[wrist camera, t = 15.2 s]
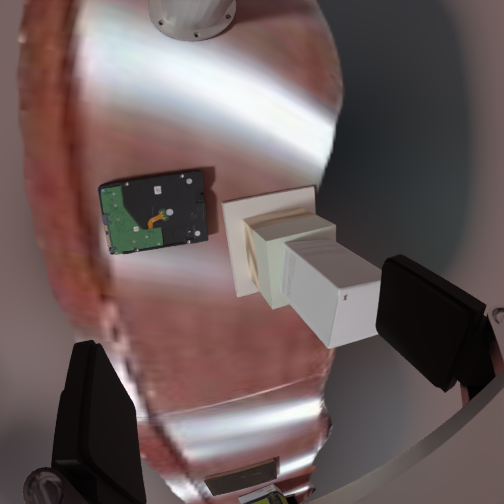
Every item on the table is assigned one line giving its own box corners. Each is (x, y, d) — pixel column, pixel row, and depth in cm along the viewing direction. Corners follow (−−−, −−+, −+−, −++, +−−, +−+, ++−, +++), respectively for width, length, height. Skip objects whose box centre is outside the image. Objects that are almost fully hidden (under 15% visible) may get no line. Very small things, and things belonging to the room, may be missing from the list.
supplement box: (278, 293, 40) (325, 351, 29) (283, 241, 37) (339, 287, 26) (325, 287, 42) (379, 335, 31) (333, 237, 40) (396, 277, 29)
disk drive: (199, 167, 42) (99, 184, 38) (203, 169, 40) (96, 187, 36) (206, 235, 46) (111, 251, 42) (209, 241, 44) (110, 258, 40)
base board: (221, 202, 44) (223, 203, 44) (311, 185, 48) (314, 186, 47) (236, 294, 51) (237, 297, 50) (314, 272, 55) (317, 274, 54)
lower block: (242, 219, 45) (252, 229, 41) (301, 207, 48) (317, 215, 43) (249, 277, 49) (260, 292, 45) (304, 263, 52) (318, 275, 48)
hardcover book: (202, 475, 72) (204, 481, 70) (273, 456, 78) (276, 461, 76) (211, 491, 78) (213, 496, 76) (274, 474, 84) (276, 479, 82)
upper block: (252, 229, 41) (265, 241, 37) (317, 215, 43) (335, 225, 39) (260, 292, 45) (272, 309, 41) (318, 275, 48) (335, 289, 43)
